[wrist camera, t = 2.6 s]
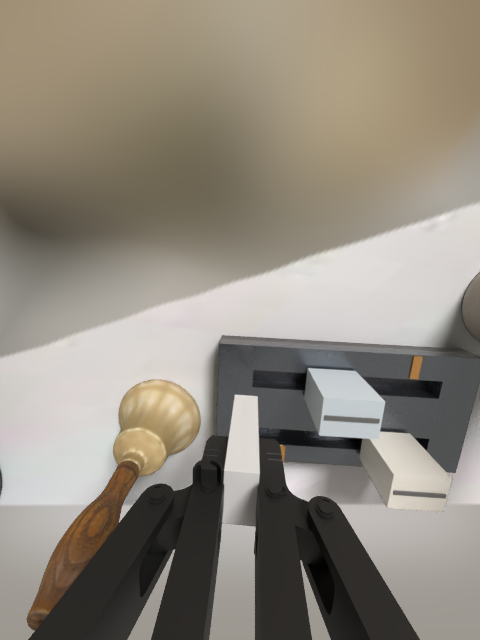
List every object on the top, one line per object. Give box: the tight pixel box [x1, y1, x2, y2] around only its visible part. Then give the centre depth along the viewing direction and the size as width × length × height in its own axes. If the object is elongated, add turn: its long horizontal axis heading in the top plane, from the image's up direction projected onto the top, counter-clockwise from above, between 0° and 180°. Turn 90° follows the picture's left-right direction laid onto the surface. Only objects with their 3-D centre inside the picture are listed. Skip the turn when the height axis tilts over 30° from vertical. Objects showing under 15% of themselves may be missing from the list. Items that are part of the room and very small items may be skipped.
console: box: [216, 335, 480, 473], centre depth 25 cm, size 22×11×3 cm, turn 87°
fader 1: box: [304, 368, 385, 439], centre depth 21 cm, size 4×3×7 cm
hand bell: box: [27, 380, 201, 630], centre depth 19 cm, size 8×8×16 cm
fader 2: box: [359, 432, 452, 512], centre depth 22 cm, size 4×3×6 cm
